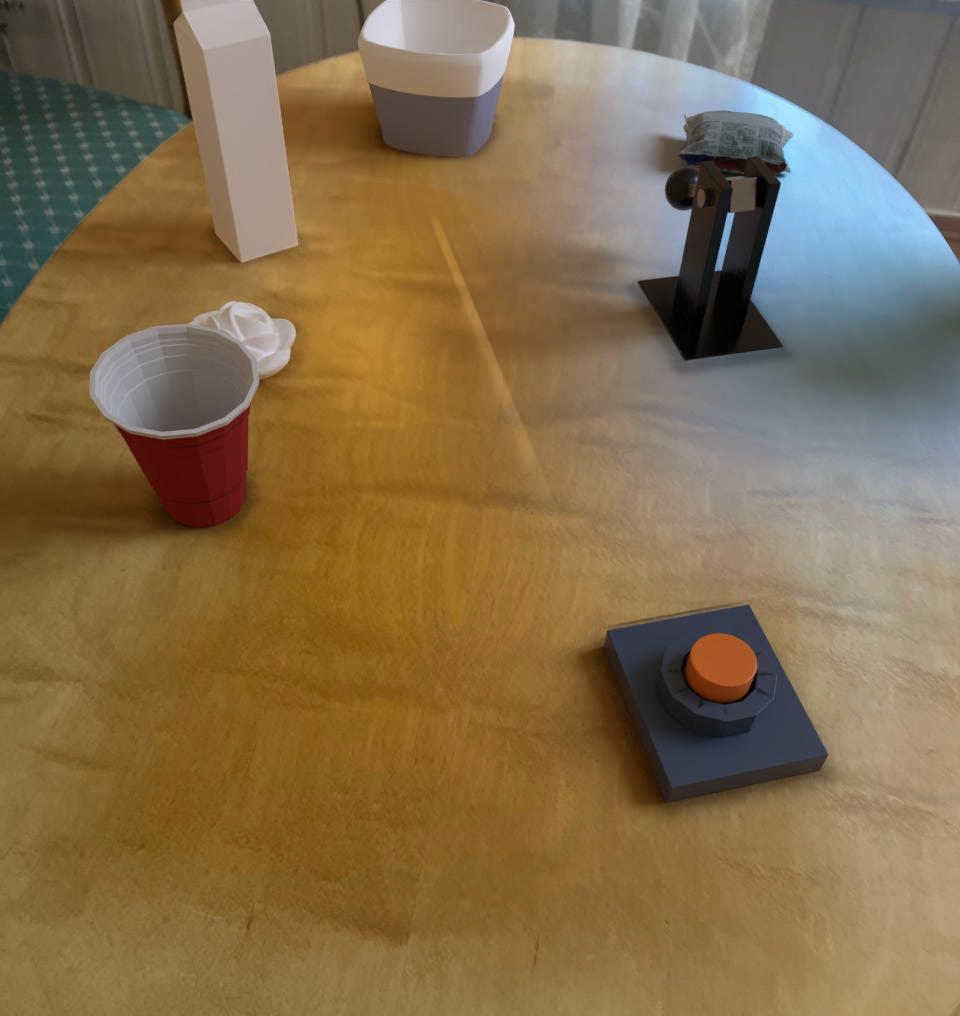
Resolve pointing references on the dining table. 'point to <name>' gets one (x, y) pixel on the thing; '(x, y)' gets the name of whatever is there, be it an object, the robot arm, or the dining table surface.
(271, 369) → the rose
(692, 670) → the button
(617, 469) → the dining table surface
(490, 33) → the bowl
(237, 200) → the milk
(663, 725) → the button box
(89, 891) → the dining table surface
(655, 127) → the dining table surface
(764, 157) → the packaged food
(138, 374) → the plastic cup
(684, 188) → the lever
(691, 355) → the bracket
